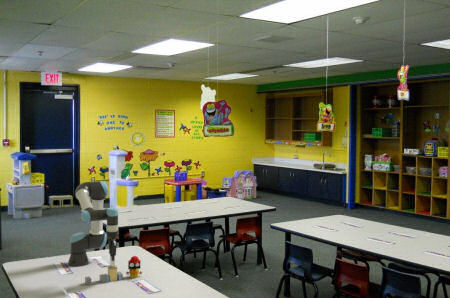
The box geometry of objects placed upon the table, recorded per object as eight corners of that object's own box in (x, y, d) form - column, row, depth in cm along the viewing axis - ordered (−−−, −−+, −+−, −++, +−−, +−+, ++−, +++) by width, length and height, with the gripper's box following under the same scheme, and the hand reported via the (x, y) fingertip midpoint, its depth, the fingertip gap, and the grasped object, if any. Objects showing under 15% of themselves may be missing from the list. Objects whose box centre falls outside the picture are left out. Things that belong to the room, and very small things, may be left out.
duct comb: (85, 284, 301) (85, 276, 301) (120, 278, 313) (120, 271, 313) (87, 287, 296) (87, 279, 295) (122, 281, 308) (122, 274, 308)
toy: (126, 279, 312) (126, 258, 311) (125, 275, 320) (125, 254, 320) (142, 278, 315) (142, 257, 314) (141, 274, 323) (141, 253, 323)
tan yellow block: (107, 279, 309) (107, 266, 308) (115, 278, 311) (115, 265, 311) (109, 281, 304) (109, 268, 304) (117, 280, 307) (117, 267, 306)
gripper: (104, 229, 310) (104, 263, 311) (109, 233, 299) (109, 268, 300) (115, 228, 314) (115, 261, 315) (120, 232, 303) (120, 266, 303)
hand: (112, 265), depth 307 cm, fingers closed
